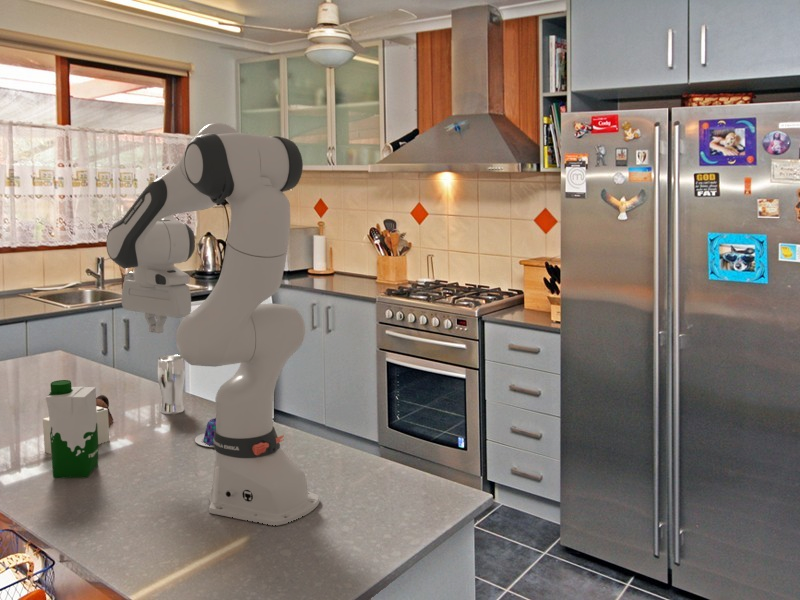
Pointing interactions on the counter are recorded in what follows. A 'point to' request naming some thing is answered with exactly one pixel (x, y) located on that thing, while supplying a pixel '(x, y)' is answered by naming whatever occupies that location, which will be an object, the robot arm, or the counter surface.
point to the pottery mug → (104, 405)
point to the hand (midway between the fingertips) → (156, 332)
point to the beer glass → (171, 383)
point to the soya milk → (72, 429)
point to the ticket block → (101, 425)
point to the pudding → (207, 434)
